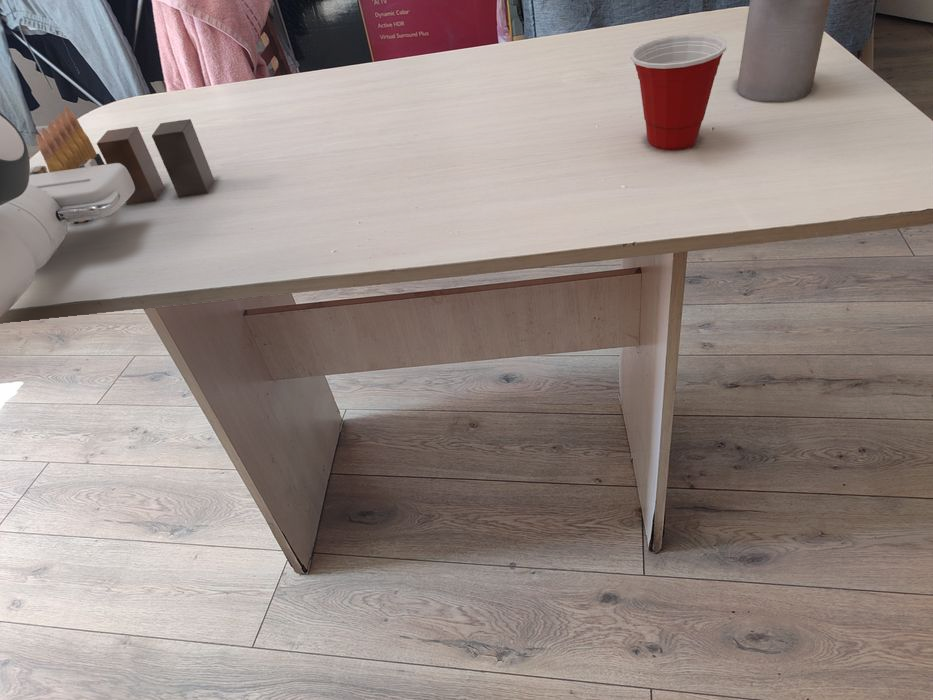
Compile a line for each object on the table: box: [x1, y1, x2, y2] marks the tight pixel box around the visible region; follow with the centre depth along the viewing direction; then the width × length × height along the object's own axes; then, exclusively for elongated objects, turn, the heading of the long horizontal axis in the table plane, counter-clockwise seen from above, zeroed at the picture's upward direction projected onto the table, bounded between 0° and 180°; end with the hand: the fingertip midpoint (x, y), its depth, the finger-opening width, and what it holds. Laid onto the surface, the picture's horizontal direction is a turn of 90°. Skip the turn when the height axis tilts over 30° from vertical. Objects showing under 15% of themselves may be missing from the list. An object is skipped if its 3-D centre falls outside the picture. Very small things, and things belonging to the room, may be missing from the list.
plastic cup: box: [629, 33, 728, 152], centre depth 82 cm, size 11×11×12 cm
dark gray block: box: [151, 118, 215, 199], centre depth 88 cm, size 4×4×9 cm
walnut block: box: [96, 126, 165, 206], centre depth 89 cm, size 4×4×9 cm
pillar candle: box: [736, 0, 832, 103], centre depth 90 cm, size 10×10×15 cm
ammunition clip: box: [35, 105, 106, 224], centre depth 88 cm, size 11×2×12 cm, turn 4°
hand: (67, 168), depth 86 cm, fingers open, 5 cm apart
